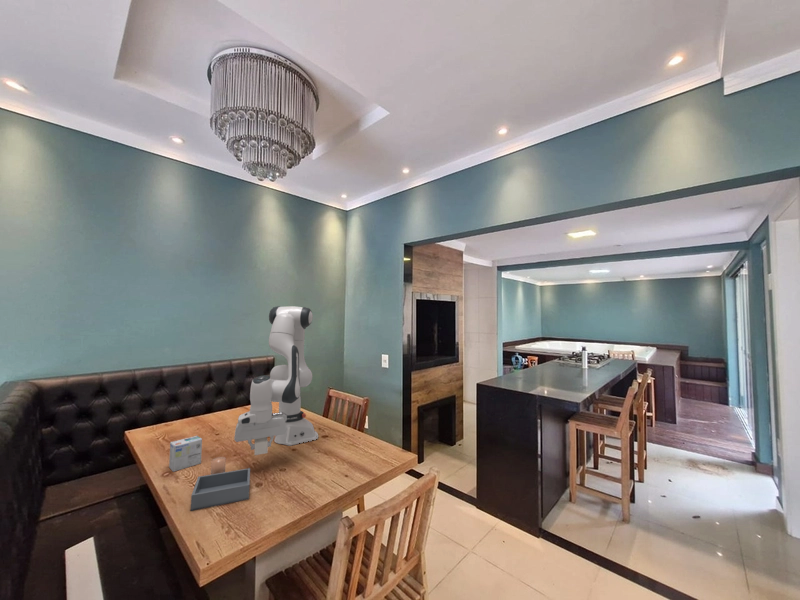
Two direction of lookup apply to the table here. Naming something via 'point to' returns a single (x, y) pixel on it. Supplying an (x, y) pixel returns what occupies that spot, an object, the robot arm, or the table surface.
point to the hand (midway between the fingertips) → (260, 447)
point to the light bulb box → (185, 453)
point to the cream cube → (261, 446)
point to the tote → (220, 489)
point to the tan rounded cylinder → (218, 465)
